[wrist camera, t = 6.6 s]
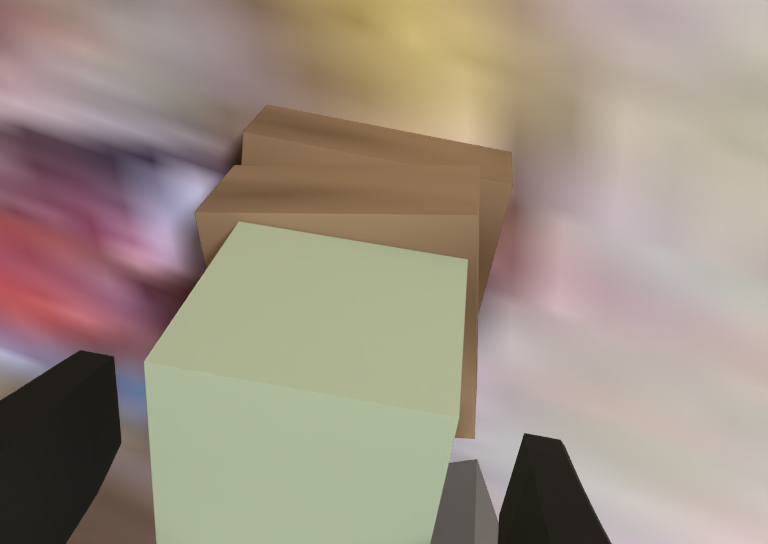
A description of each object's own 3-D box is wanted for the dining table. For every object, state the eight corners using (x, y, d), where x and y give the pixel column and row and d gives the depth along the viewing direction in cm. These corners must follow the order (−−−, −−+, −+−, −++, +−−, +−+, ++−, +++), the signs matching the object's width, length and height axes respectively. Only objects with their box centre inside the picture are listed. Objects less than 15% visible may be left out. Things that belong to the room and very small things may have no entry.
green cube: (432, 431, 16) (413, 614, 12) (236, 397, 16) (157, 565, 13) (467, 259, 14) (459, 417, 10) (238, 221, 14) (143, 361, 10)
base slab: (460, 337, 21) (456, 393, 19) (258, 297, 21) (231, 347, 19) (510, 143, 18) (513, 184, 16) (273, 97, 18) (243, 131, 16)
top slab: (477, 369, 18) (474, 438, 16) (266, 361, 19) (237, 426, 17) (479, 164, 15) (478, 215, 13) (234, 165, 16) (194, 212, 14)
